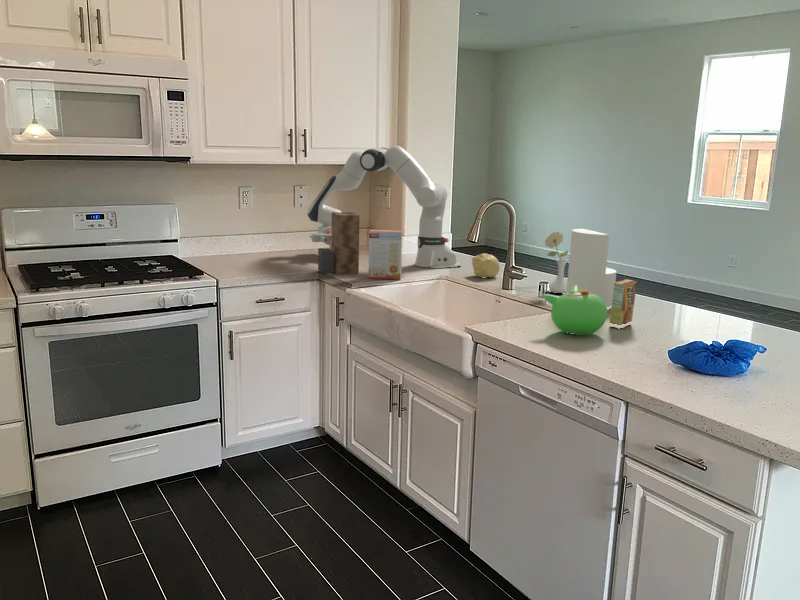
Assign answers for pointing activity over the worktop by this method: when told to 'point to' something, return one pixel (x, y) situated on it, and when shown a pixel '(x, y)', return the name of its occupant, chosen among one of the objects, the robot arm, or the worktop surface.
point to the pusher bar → (330, 237)
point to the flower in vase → (559, 283)
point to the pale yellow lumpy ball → (485, 265)
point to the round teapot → (577, 311)
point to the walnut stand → (345, 242)
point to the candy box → (623, 302)
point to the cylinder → (591, 264)
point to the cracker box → (385, 254)
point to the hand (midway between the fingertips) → (334, 239)
